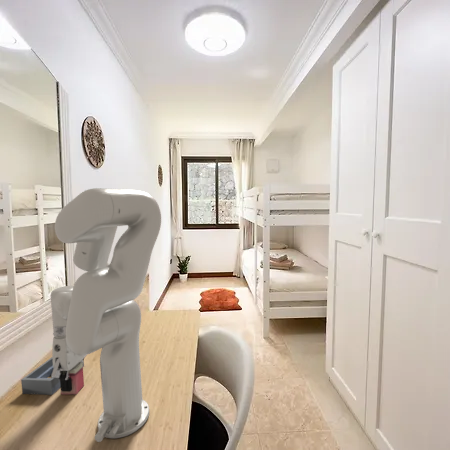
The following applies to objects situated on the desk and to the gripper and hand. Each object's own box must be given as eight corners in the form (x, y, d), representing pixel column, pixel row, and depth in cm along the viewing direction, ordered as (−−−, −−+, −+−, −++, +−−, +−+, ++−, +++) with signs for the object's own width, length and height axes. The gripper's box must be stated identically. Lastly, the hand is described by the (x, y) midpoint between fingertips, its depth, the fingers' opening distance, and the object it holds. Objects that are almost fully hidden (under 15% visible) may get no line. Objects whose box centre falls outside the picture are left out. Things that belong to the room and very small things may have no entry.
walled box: (52, 395, 80) (50, 380, 80) (22, 393, 82) (21, 379, 81) (84, 365, 95) (83, 353, 95) (58, 365, 96) (57, 353, 96)
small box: (60, 395, 80) (58, 369, 80) (69, 385, 84) (67, 361, 84) (76, 394, 80) (74, 369, 80) (84, 385, 84) (82, 361, 84)
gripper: (58, 341, 72) (64, 405, 73) (96, 316, 89) (99, 369, 90) (33, 341, 73) (39, 404, 74) (75, 316, 90) (79, 368, 91)
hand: (72, 384), depth 82 cm, fingers closed on small box, 4 cm apart
